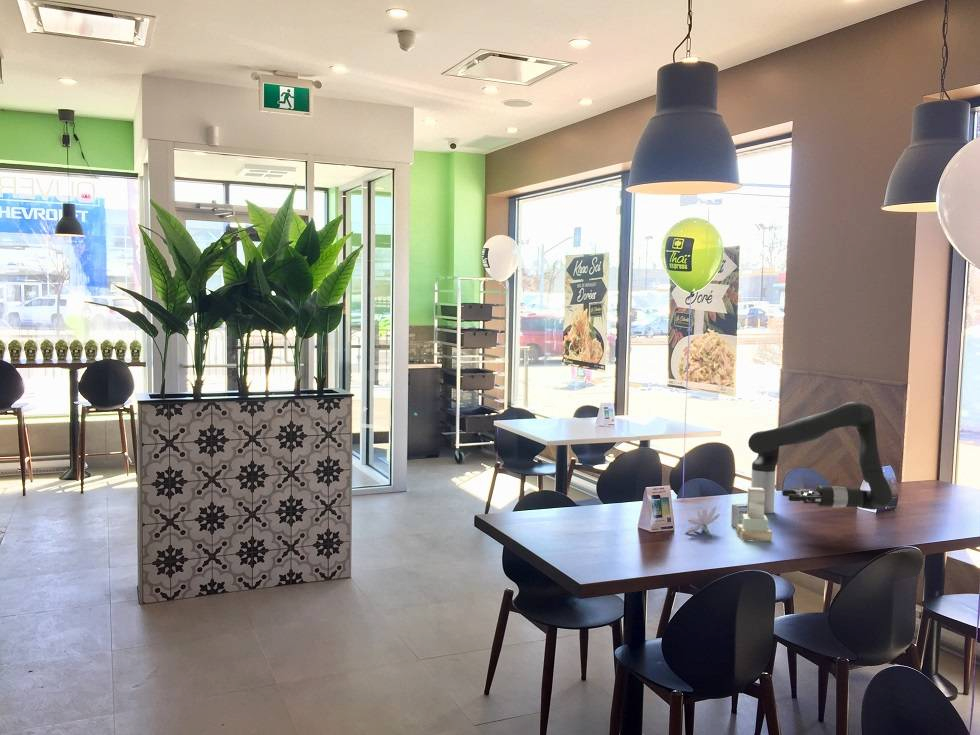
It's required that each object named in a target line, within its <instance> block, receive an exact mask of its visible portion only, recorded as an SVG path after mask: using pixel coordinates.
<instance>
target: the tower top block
mask: <svg viewBox="0 0 980 735" xmlns="http://www.w3.org/2000/svg"><path fill="white" fill-rule="evenodd" d="M742 525H743V528H744V530H754V531H768V529H769V519H768V517H767V516H766V515H765V514H764V518H750V517H749V516H748V515H747V514H742Z"/></svg>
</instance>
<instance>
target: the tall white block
mask: <svg viewBox="0 0 980 735" xmlns="http://www.w3.org/2000/svg"><path fill="white" fill-rule="evenodd" d="M764 503H765V490H764V489H763V488H753V487H750V486H749V487H747V503H746V504H747V515H748V516H749V517H750V518H764V515H765V513H764Z"/></svg>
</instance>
